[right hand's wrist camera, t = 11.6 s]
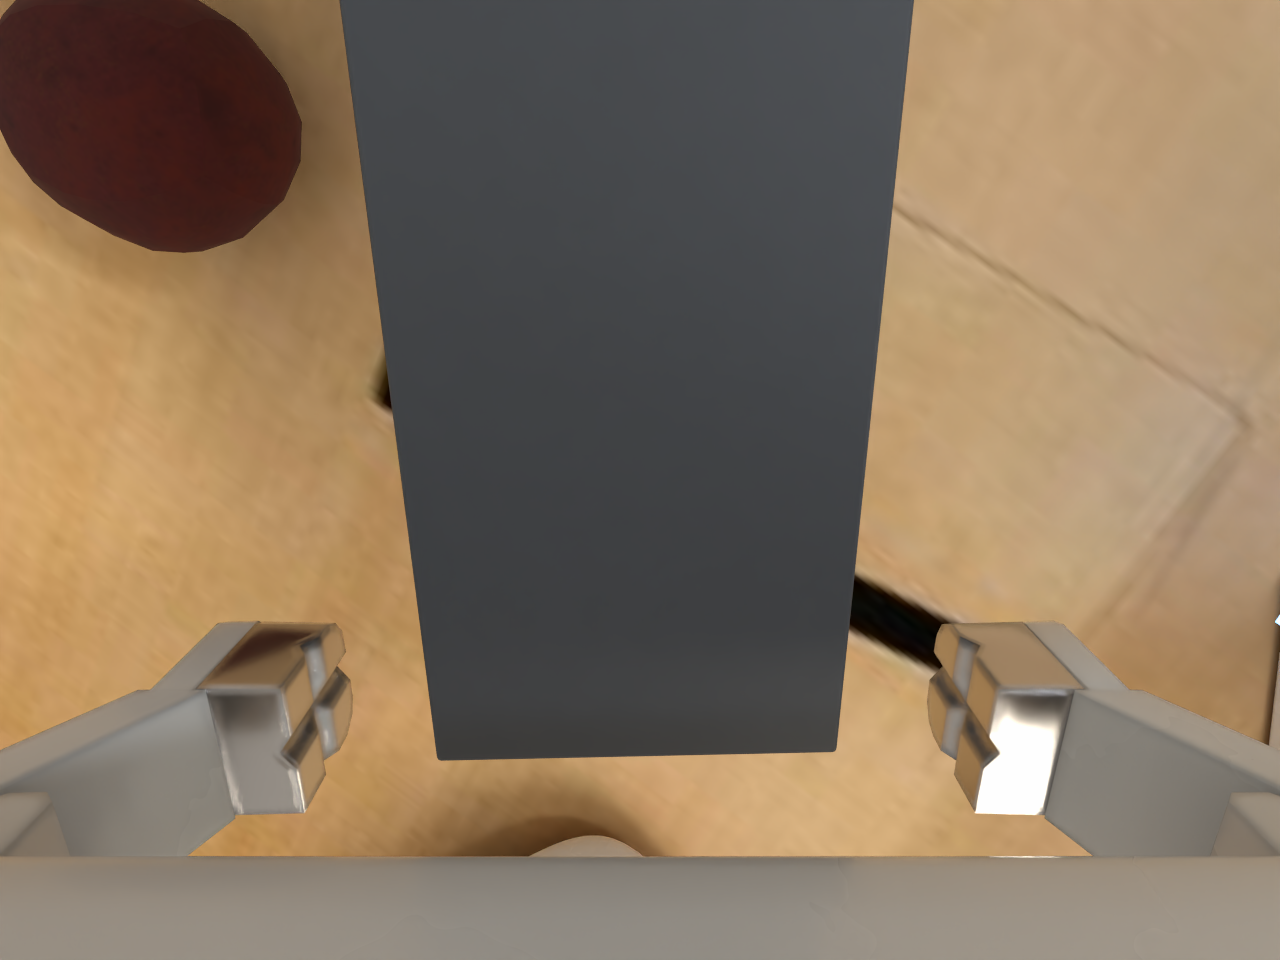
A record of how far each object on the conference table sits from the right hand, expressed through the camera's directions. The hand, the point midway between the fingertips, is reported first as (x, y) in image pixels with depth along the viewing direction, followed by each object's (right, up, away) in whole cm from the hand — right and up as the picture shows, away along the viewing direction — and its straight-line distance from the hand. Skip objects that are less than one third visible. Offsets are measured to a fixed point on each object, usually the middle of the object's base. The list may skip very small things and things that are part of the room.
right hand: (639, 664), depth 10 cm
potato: (-14, +14, +16) cm, 26 cm away
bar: (0, +15, +1) cm, 15 cm away
